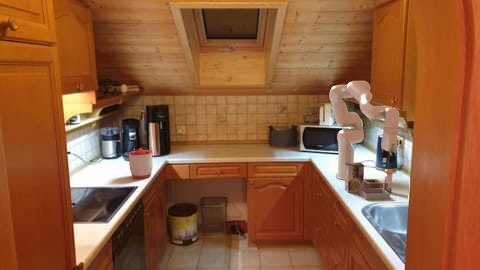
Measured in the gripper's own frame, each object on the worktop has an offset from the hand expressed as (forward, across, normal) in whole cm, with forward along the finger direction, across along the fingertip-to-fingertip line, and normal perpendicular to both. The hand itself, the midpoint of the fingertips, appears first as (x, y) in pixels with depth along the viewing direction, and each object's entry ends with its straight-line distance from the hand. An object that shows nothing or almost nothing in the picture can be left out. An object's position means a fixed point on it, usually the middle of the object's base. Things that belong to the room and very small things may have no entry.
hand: (388, 160), depth 211 cm
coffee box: (+19, -3, -17) cm, 26 cm away
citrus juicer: (+23, -46, -149) cm, 157 cm away
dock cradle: (+18, +8, -10) cm, 22 cm away
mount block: (+19, -4, -6) cm, 20 cm away
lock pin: (+18, +1, +1) cm, 19 cm away
